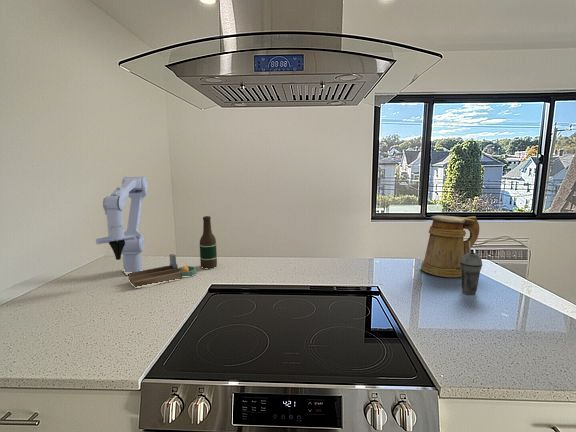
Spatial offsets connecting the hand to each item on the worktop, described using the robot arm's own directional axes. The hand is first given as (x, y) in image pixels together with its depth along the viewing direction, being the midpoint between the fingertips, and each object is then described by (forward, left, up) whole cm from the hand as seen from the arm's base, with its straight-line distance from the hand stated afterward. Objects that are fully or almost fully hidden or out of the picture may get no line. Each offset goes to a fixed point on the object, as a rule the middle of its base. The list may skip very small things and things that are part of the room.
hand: (118, 259), depth 141 cm
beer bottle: (+2, +38, -11) cm, 40 cm away
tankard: (+75, +119, -11) cm, 141 cm away
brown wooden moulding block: (+6, +12, -10) cm, 17 cm away
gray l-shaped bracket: (+6, +20, -7) cm, 22 cm away
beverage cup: (+93, +100, -11) cm, 137 cm away
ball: (+6, +25, -8) cm, 27 cm away
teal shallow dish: (+6, +26, -10) cm, 28 cm away
